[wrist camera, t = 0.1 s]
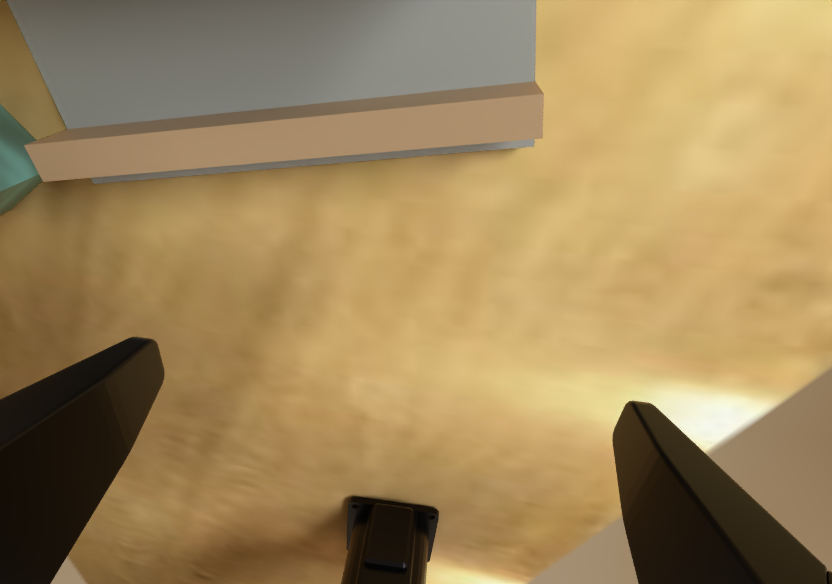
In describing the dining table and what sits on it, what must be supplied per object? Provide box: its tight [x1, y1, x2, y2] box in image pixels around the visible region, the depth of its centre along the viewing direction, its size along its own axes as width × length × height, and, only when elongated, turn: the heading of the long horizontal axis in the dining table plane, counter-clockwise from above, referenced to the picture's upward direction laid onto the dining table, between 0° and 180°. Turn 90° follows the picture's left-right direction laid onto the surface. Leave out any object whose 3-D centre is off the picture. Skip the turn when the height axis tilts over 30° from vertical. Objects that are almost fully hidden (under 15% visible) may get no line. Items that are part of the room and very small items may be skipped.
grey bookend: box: [6, 0, 544, 184], centre depth 15 cm, size 11×20×10 cm, turn 96°
